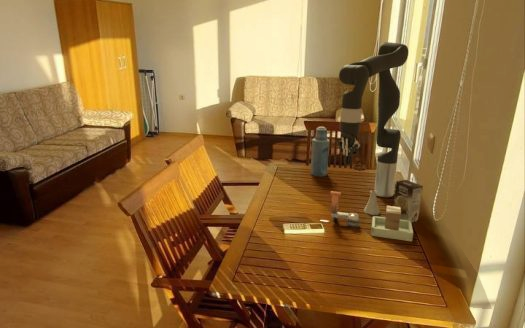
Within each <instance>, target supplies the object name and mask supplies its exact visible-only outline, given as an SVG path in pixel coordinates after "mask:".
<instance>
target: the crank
mask: <svg viewBox="0 0 525 328" xmlns="http://www.w3.org/2000/svg"><path fill="white" fill-rule="evenodd" d="M330 195H331V205H330V206H331V209H330V217H331V218H333V217H336V218H338V219H344V220H348V221H349V222H353V223H356V222H359V223H360V214H358V213H357V212H349V213H348V212H341V211H339V209H338V207H339V198H340V196H341V191H332V190H331V191H330ZM337 211H338V212H337Z"/></svg>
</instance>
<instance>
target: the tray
mask: <svg viewBox="0 0 525 328" xmlns="http://www.w3.org/2000/svg"><path fill="white" fill-rule="evenodd" d="M385 219H386V216H385V217H384V216H378V215H372V218H371V220H372V221H371V232H370V236H372V237H379V238H385V239H392V240H399V241H400V240H401V241H407V242H413V238H414V230H413V225H412V222H411V221H408V220H400V222H399V230H392V229H385Z"/></svg>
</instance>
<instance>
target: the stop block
mask: <svg viewBox="0 0 525 328" xmlns="http://www.w3.org/2000/svg"><path fill="white" fill-rule="evenodd" d="M385 212H386V213H385V218H386V219H385V229H392V230H399V222H400V214H401V208H400V207H394V206H391V205H386V209H385Z"/></svg>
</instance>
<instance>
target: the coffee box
mask: <svg viewBox="0 0 525 328" xmlns="http://www.w3.org/2000/svg"><path fill="white" fill-rule="evenodd" d="M423 188H424V186H423V185H421V184H418V183H417V182H413V181H410V180H408V179H402V180H396V181H395V188H394V199H393V206H394V207H400V208H401V214H400V220H408V221H411V223H414V221H415V222H418V221H417V220H419V213H420V208H421V203H422V202H421V199H422V195H423Z"/></svg>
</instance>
